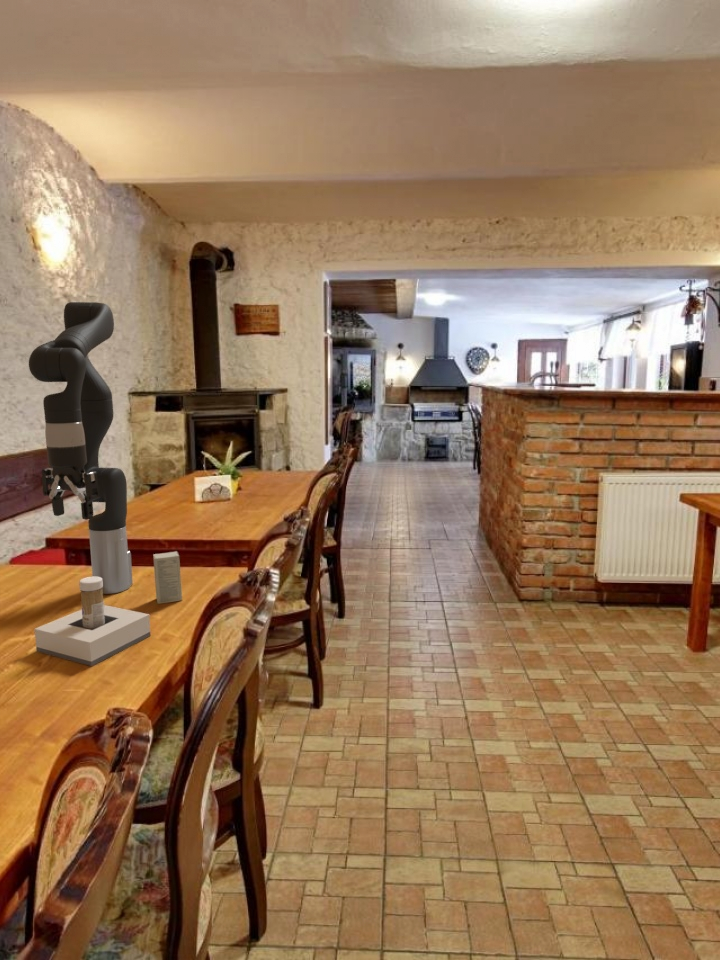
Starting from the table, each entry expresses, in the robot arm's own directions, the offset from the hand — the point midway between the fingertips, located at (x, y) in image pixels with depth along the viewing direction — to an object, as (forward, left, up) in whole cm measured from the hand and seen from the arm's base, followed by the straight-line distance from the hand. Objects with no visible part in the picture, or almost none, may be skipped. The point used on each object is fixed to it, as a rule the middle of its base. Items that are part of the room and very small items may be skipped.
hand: (73, 516), depth 132 cm
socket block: (+3, +8, -27) cm, 28 cm away
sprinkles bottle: (+3, +8, -26) cm, 27 cm away
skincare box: (-24, +4, -27) cm, 36 cm away
